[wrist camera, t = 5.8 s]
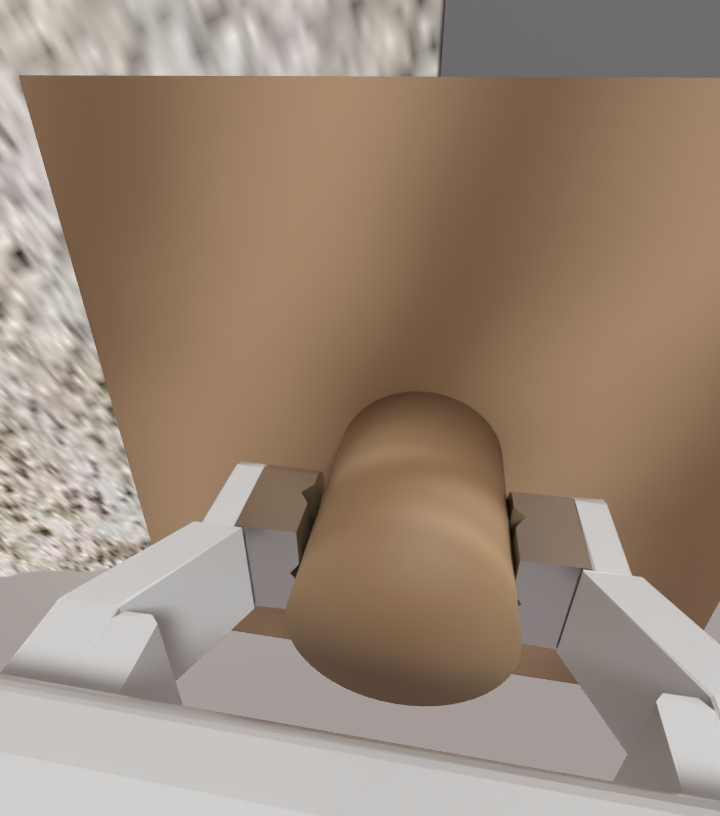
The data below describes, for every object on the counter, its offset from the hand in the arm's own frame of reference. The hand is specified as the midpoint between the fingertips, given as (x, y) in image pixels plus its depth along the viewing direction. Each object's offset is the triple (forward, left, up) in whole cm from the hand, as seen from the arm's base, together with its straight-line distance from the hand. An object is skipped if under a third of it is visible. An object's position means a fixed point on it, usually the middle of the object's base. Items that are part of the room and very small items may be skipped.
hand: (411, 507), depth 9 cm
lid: (0, 0, -2) cm, 2 cm away
